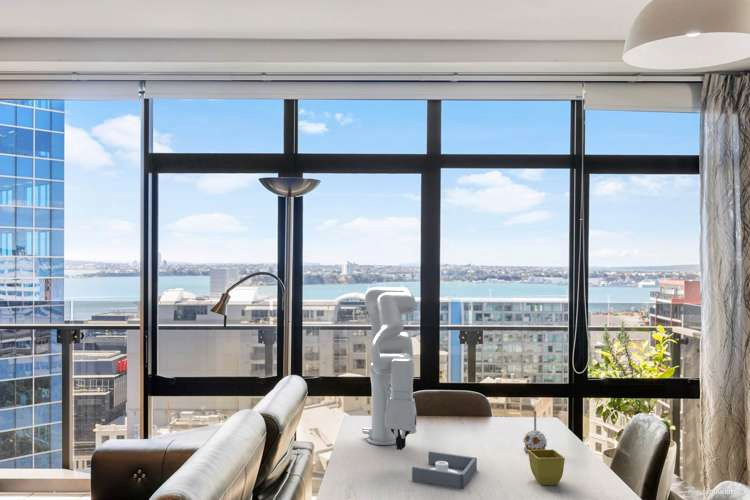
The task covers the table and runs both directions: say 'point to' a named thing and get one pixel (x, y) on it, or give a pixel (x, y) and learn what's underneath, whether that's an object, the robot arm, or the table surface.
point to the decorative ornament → (534, 439)
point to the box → (442, 476)
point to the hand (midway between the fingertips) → (400, 448)
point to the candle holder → (443, 467)
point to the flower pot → (546, 466)
